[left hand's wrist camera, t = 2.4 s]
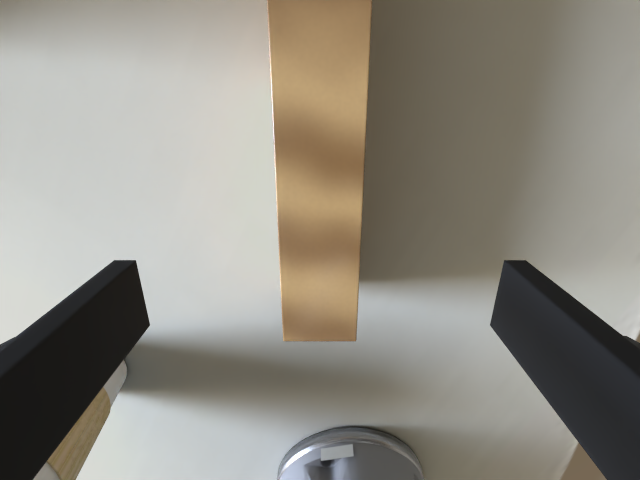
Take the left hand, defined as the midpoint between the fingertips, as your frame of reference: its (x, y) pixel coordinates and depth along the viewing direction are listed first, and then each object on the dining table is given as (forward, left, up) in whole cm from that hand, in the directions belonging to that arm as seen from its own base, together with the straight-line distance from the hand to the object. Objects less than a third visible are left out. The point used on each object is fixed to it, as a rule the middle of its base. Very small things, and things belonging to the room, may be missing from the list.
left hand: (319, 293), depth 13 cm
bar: (+20, +9, -14) cm, 26 cm away
